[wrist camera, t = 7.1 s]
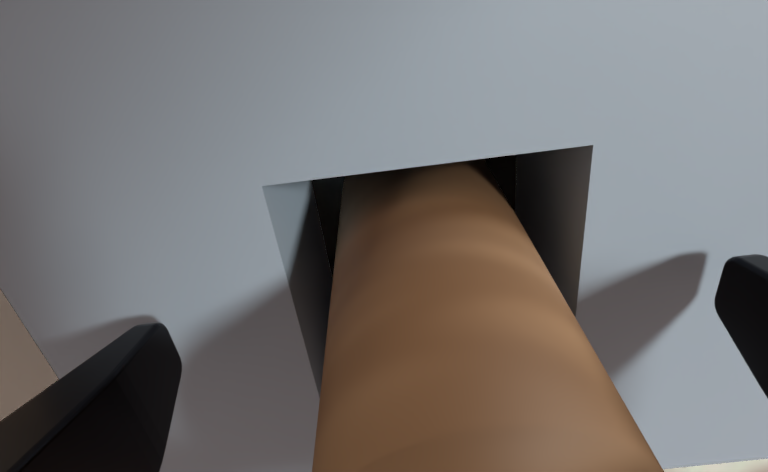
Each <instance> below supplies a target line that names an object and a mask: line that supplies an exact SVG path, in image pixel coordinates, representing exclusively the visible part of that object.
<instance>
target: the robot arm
mask: <svg viewBox="0 0 768 472" xmlns="http://www.w3.org/2000/svg"><path fill="white" fill-rule="evenodd" d="M714 304H715V309H716V312H717V314H718V316H719V318H720V320H721V321H722V323H723V325H724V327H725V328H726V330H727V332H728V333H729V335H730V337H731V338H732V340H733V342H734V343H735V345H736V347H737V349H738V350H739V352H740V354H741V355H742V357H743V359H744V360H745V362H746V364H747V365H748V367H749V369H750V371H751V372H752V374H753V376H754V377H755V379H756V381H757V382H758V384H759V386H760V387H761V389H762V390H763V392H764V394H765V395H766V397H767V398H768V257H767V256H764V255H760V254H751V255H742V256H734V257H731V258H729V259H728V260H727V261H726V262H725V264H724V267H723V270H722V274H721V277H720V281H719V284H718V288H717V291H716V295H715V299H714ZM181 374H182V362H181V358H180V355H179V353H178V351H177V349H176V347H175V344H174V342H173V340H172V338H171V336H170V333H169V331H168V329H167V328H166V326H165V325H164V324H162V323H159V322H156V323H147V324H139V325H136V326H134V327H132V328H131V329H129V330H128V331H126V332H125V333H124V334H122V335H121V336H119V337H118V338H117V339H115V340H114V341H112V342H111V343H110V344H108V345H107V346H105V347H104V348H103V349H101V350H100V351H98V352H97V353H96V354H94V355H93V356H91V357H90V358H89V359H87V360H86V361H84V362H83V363H82V364H80V365H79V366H77V367H76V368H75V369H73V370H72V371H70V372H69V373H68V374H66V375H65V376H63V377H62V378H61V379H59V380H58V381H56V382H55V383H54V384H52V385H51V386H49V387H48V388H47V389H45V390H44V391H42V392H41V393H40V394H38V395H37V396H35V397H34V398H33V399H31V400H30V401H28V402H27V403H26V404H24V405H23V406H21V407H20V408H19V409H17V410H16V411H14V412H13V413H12V414H10V415H9V416H7V417H6V418H4V419H3V420H2V421H0V472H159V471H160V468H161V465H162V461H163V457H164V453H165V449H166V445H167V440H168V436H169V431H170V426H171V422H172V417H173V412H174V407H175V403H176V398H177V393H178V389H179V384H180V379H181Z"/></svg>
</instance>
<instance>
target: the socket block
mask: <svg viewBox="0 0 768 472" xmlns="http://www.w3.org/2000/svg"><path fill="white" fill-rule="evenodd" d="M509 155H516V187H515V214H516V216H517V217H518V219H519V221H520V223H521V224H522V226H523V228H524V229H525V231H526V233H527V235H528V236H529V238H530V240H531V242H532V243H533V245H534V247H535V249H536V250H537V252H538V254H539V255H540V257H541V259H542V261H543V262H544V264H545V266H546V268H547V269H548V271H549V273H550V275H551V276H552V278H553V280H554V282H555V283H556V285H557V287H558V288H559V290H560V292H561V294H562V295H563V297H564V299H565V301H566V302H567V304H568V306H569V308H570V309H571V311H572V313H573V315H574V316H575V318H576V320H577V321H578V323H579V325H580V327H581V328H582V330H583V332H584V334H585V335H586V337H587V339H588V341H589V342H590V344H591V346H592V347H593V349H594V351H595V353H596V354H597V356H598V358H599V360H600V361H601V363H602V365H603V367H604V368H605V370H606V372H607V374H608V375H609V377H610V379H611V380H612V382H613V384H614V386H615V387H616V389H617V391H618V393H619V394H620V396H621V398H622V400H623V401H624V403H625V405H626V406H627V408H628V410H629V412H630V413H631V415H632V417H633V419H634V420H635V422H636V424H637V426H638V427H639V429H640V431H641V433H642V434H643V436H644V438H645V439H646V441H647V443H648V445H649V446H650V448H651V450H652V452H653V453H654V455H655V457H656V459H657V460H658V462H659V464H660V465H661V467H662V469H669V468H679V467H689V466H699V465H709V464H718V463H728V462H738V461H748V460H758V459H768V398H767V397H766V395H765V394H764V392H763V390H762V389H761V387H760V386H759V384H758V382H757V381H756V379H755V377H754V376H753V374H752V372H751V371H750V369H749V367H748V365H747V364H746V362H745V360H744V359H743V357H742V355H741V354H740V352H739V350H738V349H737V347H736V345H735V343H734V342H733V340H732V338H731V337H730V335H729V333H728V332H727V330H726V328H725V327H724V325H723V323H722V321H721V320H720V318H719V316H718V314H717V312H716V309H715V304H714V299H715V295H716V291H717V288H718V284H719V281H720V277H721V274H722V270H723V267H724V264H725V262H726V261H727V260H728V259H729V258H731V257H734V256H742V255H751V254H760V255H764V256H767V257H768V0H0V289H1V290H2V292H3V294H4V295H5V297H6V298H7V300H8V301H9V303H10V304H11V306H12V307H13V309H14V311H15V312H16V314H17V315H18V317H19V318H20V320H21V321H22V323H23V324H24V326H25V328H26V329H27V331H28V332H29V334H30V335H31V337H32V338H33V340H34V341H35V343H36V344H37V346H38V348H39V349H40V351H41V352H42V354H43V355H44V357H45V358H46V360H47V361H48V363H49V365H50V366H51V368H52V369H53V371H54V372H55V374H56V375H57V377H58V378H59V379H61V378H62V377H63V376H65V375H66V374H68V373H69V372H70V371H72V370H73V369H75V368H76V367H77V366H79V365H80V364H82V363H83V362H84V361H86V360H87V359H89V358H90V357H91V356H93V355H94V354H96V353H97V352H98V351H100V350H101V349H103V348H104V347H105V346H107V345H108V344H110V343H111V342H112V341H114V340H115V339H117V338H118V337H119V336H121V335H122V334H124V333H125V332H126V331H128V330H129V329H131V328H132V327H134V326H136V325H139V324H147V323H156V322H159V323H162V324H164V325H165V326H166V328H167V329H168V331H169V333H170V336H171V338H172V340H173V342H174V344H175V347H176V349H177V351H178V353H179V355H180V358H181V362H182V374H181V379H180V384H179V389H178V393H177V398H176V403H175V407H174V412H173V417H172V422H171V426H170V431H169V436H168V440H167V445H166V449H165V453H164V457H163V461H162V465H161V468H160V471H159V472H312V466H313V457H314V448H315V439H316V429H317V420H318V411H319V402H320V392H321V383H322V374H323V365H324V356H325V346H326V337H327V328H328V319H329V309H330V300H331V291H332V282H333V278H332V274H331V269H330V264H329V260H328V255H327V250H326V246H325V241H324V236H323V232H322V227H321V222H320V217H319V213H318V208H317V203H316V199H315V194H314V189H313V185H312V180H316V179H324V178H332V177H340V176H348V175H356V174H364V173H372V172H380V171H388V170H396V169H404V168H412V167H420V166H428V165H436V164H444V163H452V162H460V161H468V160H477V159H485V158H493V157H501V156H509Z"/></svg>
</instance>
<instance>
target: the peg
mask: <svg viewBox="0 0 768 472" xmlns="http://www.w3.org/2000/svg"><path fill="white" fill-rule="evenodd" d="M312 472H664V471H663V469H662V467H661V465H660V464H659V462H658V460H657V459H656V457H655V455H654V453H653V452H652V450H651V448H650V446H649V445H648V443H647V441H646V439H645V438H644V436H643V434H642V433H641V431H640V429H639V427H638V426H637V424H636V422H635V420H634V419H633V417H632V415H631V413H630V412H629V410H628V408H627V406H626V405H625V403H624V401H623V400H622V398H621V396H620V394H619V393H618V391H617V389H616V387H615V386H614V384H613V382H612V380H611V379H610V377H609V375H608V374H607V372H606V370H605V368H604V367H603V365H602V363H601V361H600V360H599V358H598V356H597V354H596V353H595V351H594V349H593V347H592V346H591V344H590V342H589V341H588V339H587V337H586V335H585V334H584V332H583V330H582V328H581V327H580V325H579V323H578V321H577V320H576V318H575V316H574V315H573V313H572V311H571V309H570V308H569V306H568V304H567V302H566V301H565V299H564V297H563V295H562V294H561V292H560V290H559V288H558V287H557V285H556V283H555V282H554V280H553V278H552V276H551V275H550V273H549V271H548V269H547V268H546V266H545V264H544V262H543V261H542V259H541V257H540V255H539V254H538V252H537V250H536V249H535V247H534V245H533V243H532V242H531V240H530V238H529V236H528V235H527V233H526V231H525V229H524V228H523V226H522V224H521V223H520V221H519V219H518V217H517V216H516V214H515V212H514V210H513V209H512V207H511V205H510V203H509V202H508V200H507V198H506V196H505V195H504V193H503V191H502V190H501V188H500V186H499V184H498V183H497V181H496V179H495V177H494V176H493V174H492V172H491V170H490V169H489V167H488V165H487V164H486V162H485V160H484V159H477V160H468V161H460V162H452V163H444V164H436V165H428V166H420V167H412V168H404V169H396V170H388V171H380V172H372V173H364V174H356V175H348V176H345V178H344V183H343V189H342V199H341V208H340V217H339V226H338V236H337V245H336V254H335V263H334V273H333V282H332V291H331V300H330V309H329V319H328V328H327V337H326V346H325V356H324V365H323V374H322V383H321V392H320V402H319V411H318V420H317V429H316V439H315V448H314V457H313V466H312Z"/></svg>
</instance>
